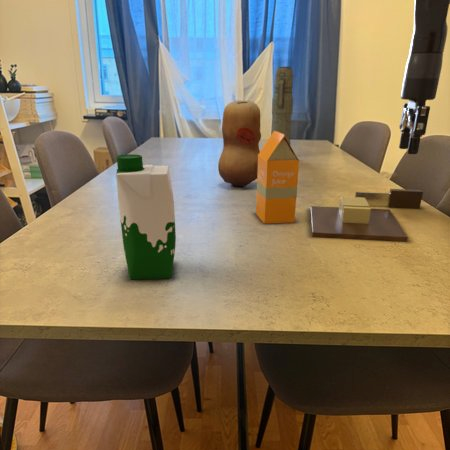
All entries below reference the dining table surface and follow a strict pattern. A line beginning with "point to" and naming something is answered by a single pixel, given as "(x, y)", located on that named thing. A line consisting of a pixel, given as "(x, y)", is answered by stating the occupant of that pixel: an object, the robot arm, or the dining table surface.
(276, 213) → the orange juice
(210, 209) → the dining table surface
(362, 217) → the butter slice
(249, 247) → the dining table surface
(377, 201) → the knife
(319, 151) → the dining table surface
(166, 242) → the milk carton
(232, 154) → the butternut squash
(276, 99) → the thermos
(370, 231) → the board
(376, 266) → the dining table surface
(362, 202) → the butter block
